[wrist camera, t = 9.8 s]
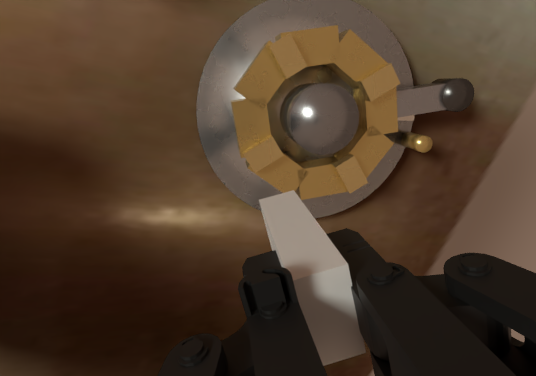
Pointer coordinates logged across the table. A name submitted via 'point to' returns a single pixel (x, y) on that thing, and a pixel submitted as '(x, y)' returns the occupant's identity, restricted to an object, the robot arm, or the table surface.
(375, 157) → the ring nut
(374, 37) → the cap base
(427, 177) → the table surface
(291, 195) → the robot arm
